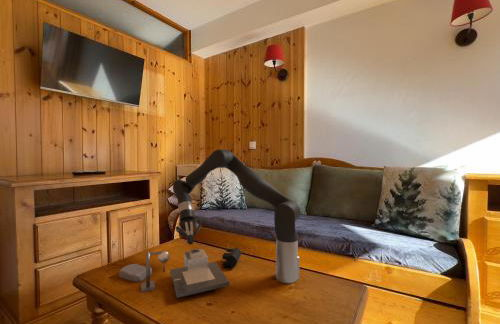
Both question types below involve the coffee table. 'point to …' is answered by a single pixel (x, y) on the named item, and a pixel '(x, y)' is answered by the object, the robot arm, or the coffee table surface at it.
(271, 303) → the coffee table surface
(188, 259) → the cover
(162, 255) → the dial indicator stand
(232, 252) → the end cap
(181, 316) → the coffee table surface
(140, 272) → the stone block
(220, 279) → the grey flat square slab
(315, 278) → the coffee table surface
